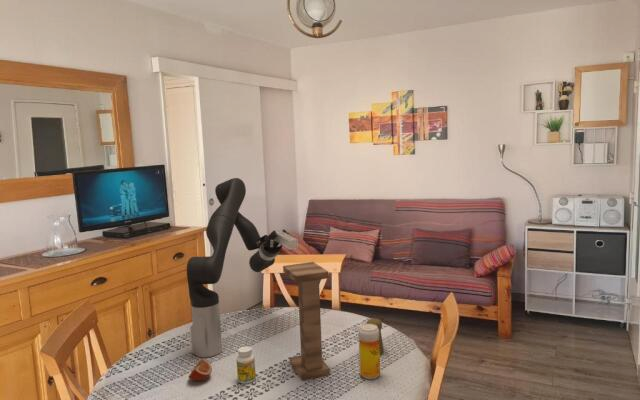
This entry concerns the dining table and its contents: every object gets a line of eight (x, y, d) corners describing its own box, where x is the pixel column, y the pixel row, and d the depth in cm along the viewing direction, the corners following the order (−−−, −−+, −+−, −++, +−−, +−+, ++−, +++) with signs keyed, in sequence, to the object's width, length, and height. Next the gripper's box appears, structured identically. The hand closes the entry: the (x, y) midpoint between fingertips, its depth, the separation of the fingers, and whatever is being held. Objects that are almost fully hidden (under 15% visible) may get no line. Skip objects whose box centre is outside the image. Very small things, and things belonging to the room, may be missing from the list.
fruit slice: (194, 372, 148) (193, 357, 147) (215, 372, 147) (214, 356, 147) (185, 385, 139) (184, 369, 139) (207, 385, 139) (206, 369, 138)
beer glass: (381, 379, 138) (380, 330, 137) (360, 380, 138) (359, 331, 137) (379, 369, 144) (377, 322, 143) (359, 370, 144) (357, 323, 143)
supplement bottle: (258, 376, 143) (257, 346, 142) (251, 385, 138) (249, 353, 137) (242, 374, 145) (240, 344, 144) (234, 383, 140) (232, 352, 139)
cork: (385, 355, 154) (384, 323, 153) (366, 355, 154) (365, 323, 153) (382, 347, 160) (382, 316, 159) (365, 347, 160) (364, 316, 159)
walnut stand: (287, 363, 151) (283, 265, 147) (317, 357, 154) (313, 261, 151) (300, 381, 139) (296, 276, 135) (332, 374, 142) (328, 271, 139)
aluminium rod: (272, 238, 170) (272, 230, 170) (280, 238, 171) (280, 229, 171) (289, 250, 152) (288, 240, 151) (298, 248, 153) (297, 239, 152)
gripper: (250, 241, 180) (258, 224, 165) (285, 237, 185) (296, 220, 170) (253, 259, 177) (262, 244, 162) (289, 255, 182) (300, 240, 167)
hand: (279, 232), depth 166 cm, fingers closed on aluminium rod, 3 cm apart
